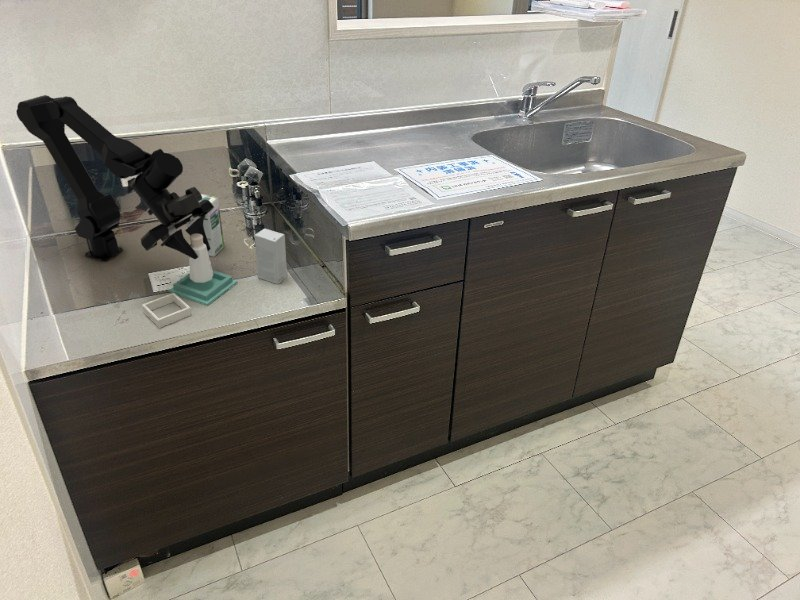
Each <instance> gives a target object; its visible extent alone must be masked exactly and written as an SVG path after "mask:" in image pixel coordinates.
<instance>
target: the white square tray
mask: <svg viewBox="0 0 800 600" xmlns="http://www.w3.org/2000/svg"><path fill="white" fill-rule="evenodd" d="M172 303H175V304H176V305H177V306H178V307H179V306H180V307H179V308H180V309H179V310H177V311H175V312H172V313H170V314H167V315H165V316H162V317H160V318H159V317H158V316H157V315H156V314H155V313H154V312H153V311H154V310H156V309H159V308H161V307H164V306H166V305H169V304H172ZM141 306H142V311H143V313H144V314H145V316H146V317H148V318H149V319H150V320H151V321H152V322H153V323H154V325H156V327H158V328H159V329H161V328H163V327H165V325H166V326H168V325H170V323H171V324H172V323H175V322H178V321H180V320H182V318H183V319H185V318H188V317H189V316H192V310H191V307H190V306H189V305H188V304H187V303H186V302H185V301H184V300H183V299H181V298H180V296H178V295H176V294H175V293H169V294H167V295H164V296H162V297H158V298H156V299H154V300H151V301H147V302H145V303H142V304H141ZM187 316H188V317H187ZM184 317H185V318H184ZM179 319H180V320H179ZM177 320H178V321H177Z"/></svg>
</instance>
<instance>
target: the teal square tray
mask: <svg viewBox="0 0 800 600" xmlns="http://www.w3.org/2000/svg"><path fill="white" fill-rule="evenodd" d="M212 271H213V277H212V280H209V281H207V282H205V283H195V282H194V281H192V280H191V279H190V272H189V273H188V274H186V275H185V276H184V277H181V278H180V279H179V280H177V281H176V282H175V283H173V284H172V288H170V289H168V292H169V294H172V293H175V294H176V295H177V296H178V297H182V298H185V299H187V300H189V299H190V301H192V300H193V302H196V303H198V304H200V305H203V304H204V306H206V305H207V306H206V307H208V306H209V305H211V304H212V303H213V302H214V300H215V299H216V300H217V299H219V298H220V297H221V296H223V295H224V294H225V293H226V292H228V291H229V290H230V289H232V288H233V287H234V286H235V285H237V284H238V280H236V279H233V276H232V275H228V274H225V273H223V272H220V271H217V270H214V269H212ZM236 283H237V284H236ZM233 285H234V286H233ZM232 286H233V287H232ZM231 287H232V288H231ZM229 288H230V289H229ZM228 289H229V290H228ZM227 290H228V291H227ZM225 291H226V292H225ZM224 292H225V293H224ZM223 293H224V294H223ZM219 296H220V297H219ZM218 297H219V298H218ZM216 300H215V301H216Z"/></svg>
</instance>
